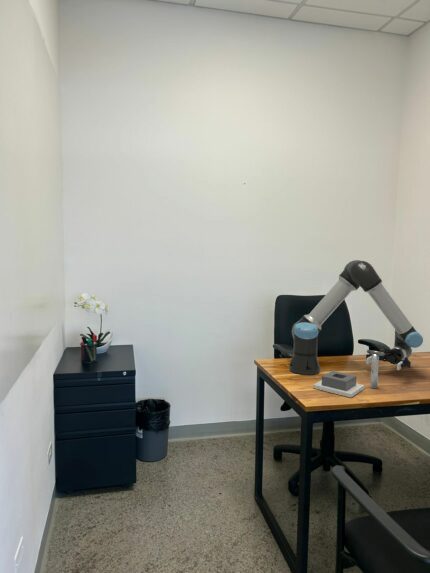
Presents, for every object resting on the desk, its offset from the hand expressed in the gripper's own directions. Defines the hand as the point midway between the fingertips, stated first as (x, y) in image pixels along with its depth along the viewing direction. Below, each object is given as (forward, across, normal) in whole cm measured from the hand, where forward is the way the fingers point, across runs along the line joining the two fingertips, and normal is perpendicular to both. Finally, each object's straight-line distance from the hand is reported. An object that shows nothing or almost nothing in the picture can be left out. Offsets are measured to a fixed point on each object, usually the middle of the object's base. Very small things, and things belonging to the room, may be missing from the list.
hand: (382, 364), depth 185 cm
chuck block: (+22, +11, -8) cm, 26 cm away
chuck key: (+10, 0, -8) cm, 13 cm away
